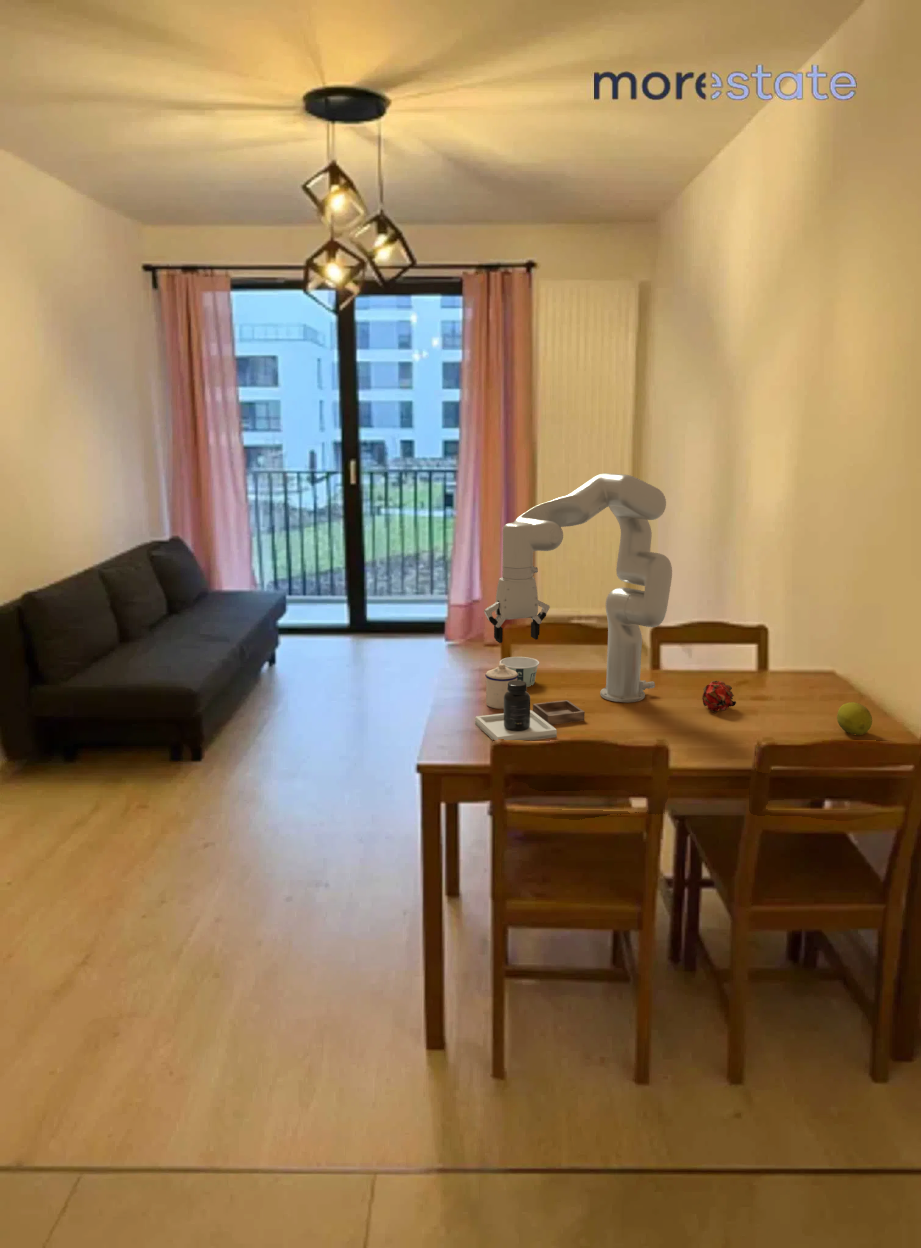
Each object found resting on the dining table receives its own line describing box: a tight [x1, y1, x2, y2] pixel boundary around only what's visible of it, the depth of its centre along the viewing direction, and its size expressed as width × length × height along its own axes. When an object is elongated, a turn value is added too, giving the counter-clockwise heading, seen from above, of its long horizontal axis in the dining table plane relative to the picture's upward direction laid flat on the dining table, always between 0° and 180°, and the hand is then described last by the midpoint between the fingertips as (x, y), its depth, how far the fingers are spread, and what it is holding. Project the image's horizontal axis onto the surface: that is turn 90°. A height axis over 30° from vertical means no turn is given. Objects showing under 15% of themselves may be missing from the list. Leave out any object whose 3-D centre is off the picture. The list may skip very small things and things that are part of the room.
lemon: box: [836, 701, 873, 736], centre depth 233 cm, size 11×8×8 cm
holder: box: [532, 699, 586, 726], centre depth 245 cm, size 10×10×2 cm
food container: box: [499, 656, 540, 688], centre depth 275 cm, size 12×12×6 cm
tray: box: [474, 709, 558, 741], centre depth 235 cm, size 16×16×2 cm
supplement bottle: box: [503, 680, 531, 731], centre depth 234 cm, size 7×7×12 cm
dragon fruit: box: [701, 680, 737, 714], centre depth 251 cm, size 8×8×12 cm
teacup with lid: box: [485, 663, 518, 710], centre depth 256 cm, size 12×9×12 cm
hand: (516, 640), depth 230 cm, fingers open, 9 cm apart
